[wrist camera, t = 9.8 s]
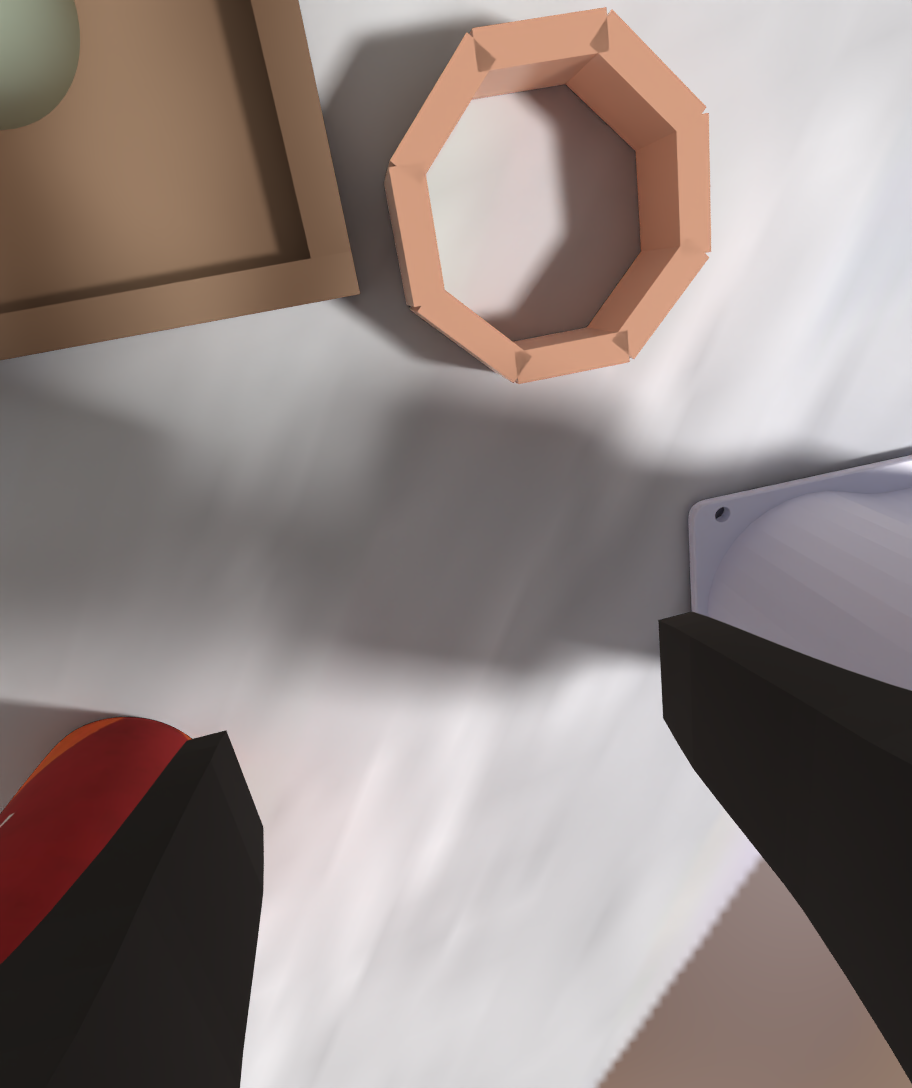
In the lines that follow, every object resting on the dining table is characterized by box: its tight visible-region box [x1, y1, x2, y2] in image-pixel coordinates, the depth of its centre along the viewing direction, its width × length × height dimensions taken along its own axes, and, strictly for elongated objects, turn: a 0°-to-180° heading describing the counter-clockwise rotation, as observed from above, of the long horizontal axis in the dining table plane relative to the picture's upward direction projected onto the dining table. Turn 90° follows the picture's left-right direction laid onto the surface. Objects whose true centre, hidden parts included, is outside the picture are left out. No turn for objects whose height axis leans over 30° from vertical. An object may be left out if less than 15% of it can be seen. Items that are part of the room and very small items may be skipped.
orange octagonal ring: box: [384, 7, 711, 384], centre depth 17 cm, size 8×8×2 cm
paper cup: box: [0, 717, 192, 964], centre depth 16 cm, size 8×8×14 cm
